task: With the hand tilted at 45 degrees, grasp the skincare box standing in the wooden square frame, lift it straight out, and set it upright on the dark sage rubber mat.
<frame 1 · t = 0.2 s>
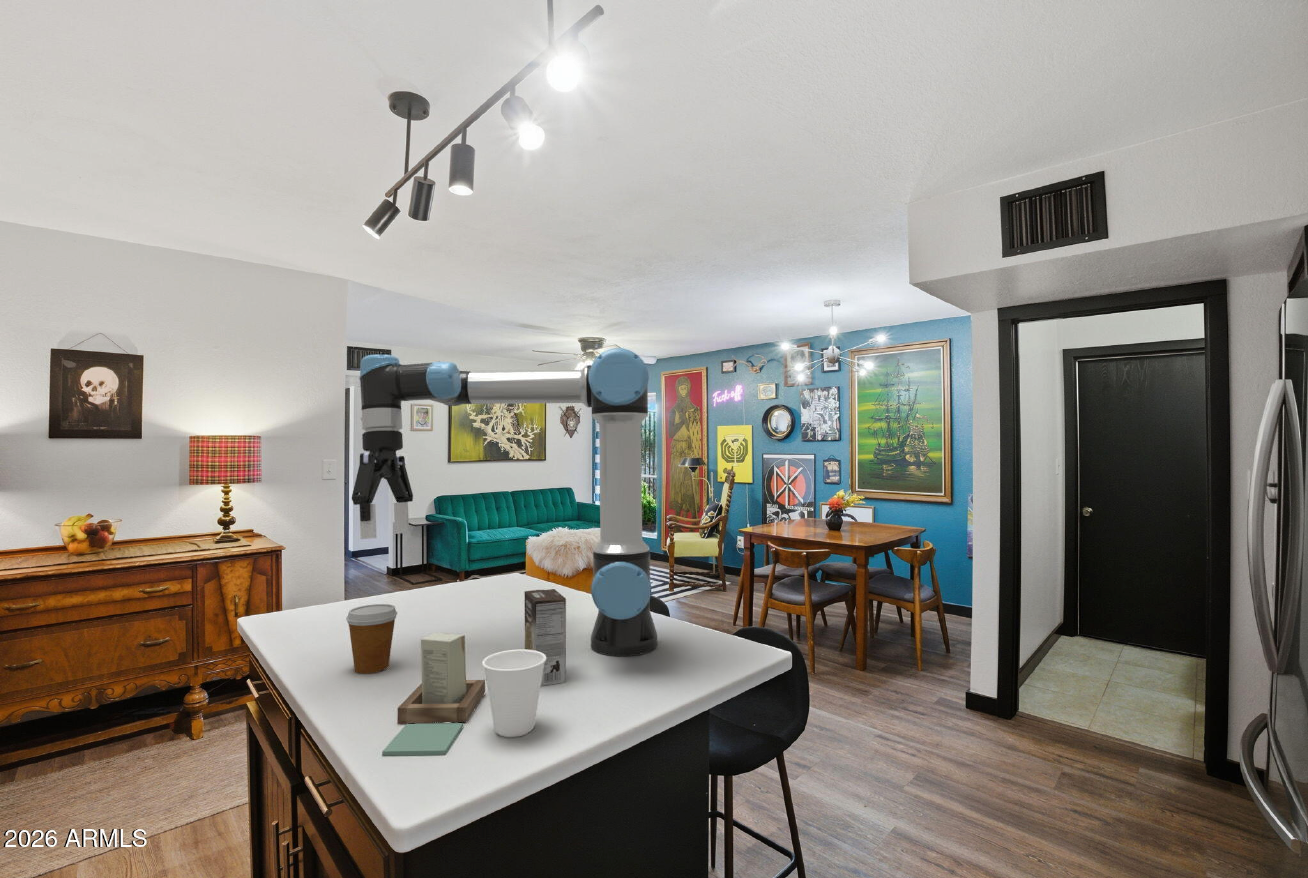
hand: (386, 535, 123), 27 cm above the kitchen island, tool pointing down, fingers open, 13 cm apart
coffee box: (544, 678, 119), on the kitchen island
cup: (514, 730, 96), on the kitchen island
rubber mat: (424, 740, 92), on the kitchen island
wooden square frame: (443, 707, 104), on the kitchen island
disposable coffee cup: (371, 669, 124), on the kitchen island
skincare box: (443, 709, 104), resting in wooden square frame
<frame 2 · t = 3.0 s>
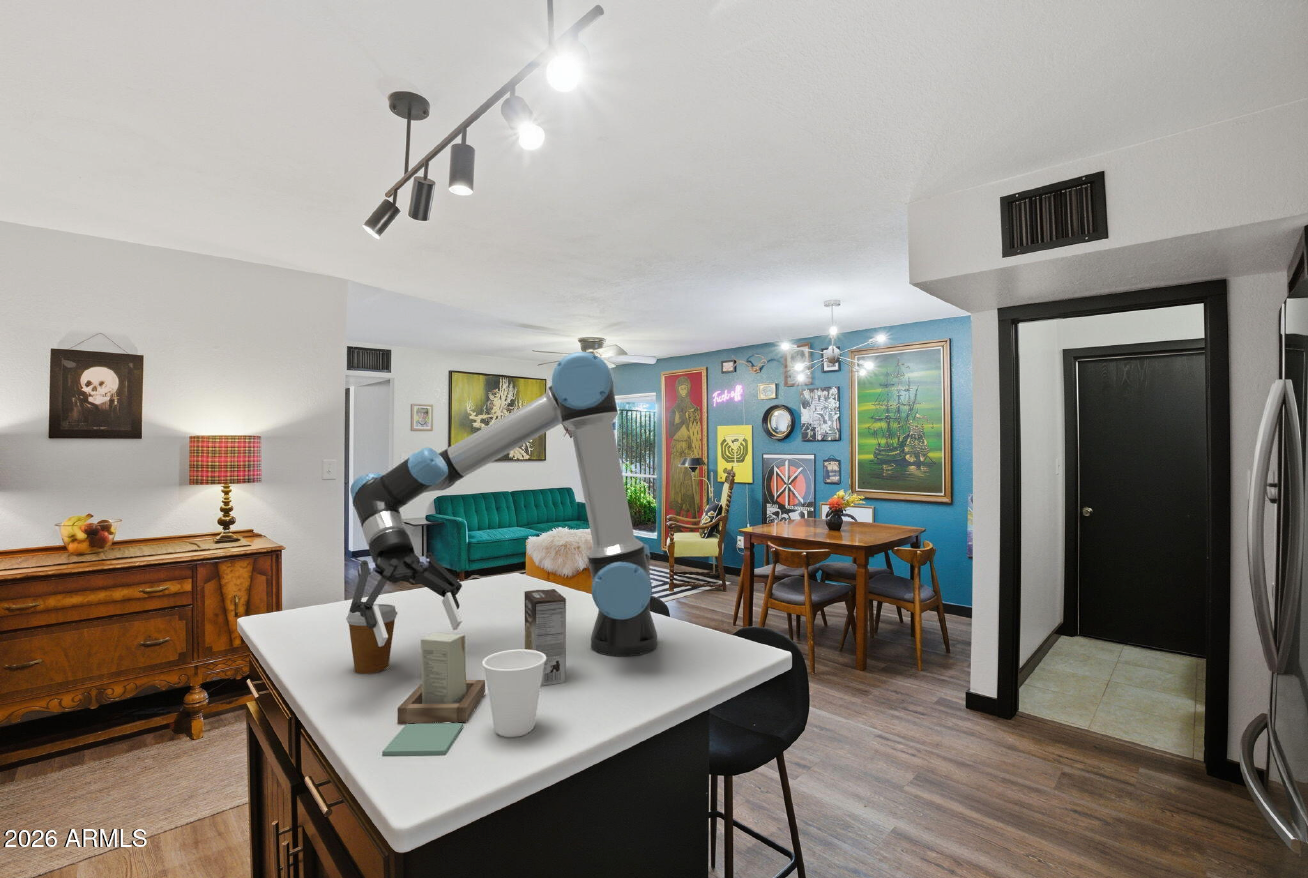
hand: (422, 633, 108), 11 cm above the kitchen island, tool tilted 45°, fingers open, 13 cm apart
nothing on the kitchen island moved.
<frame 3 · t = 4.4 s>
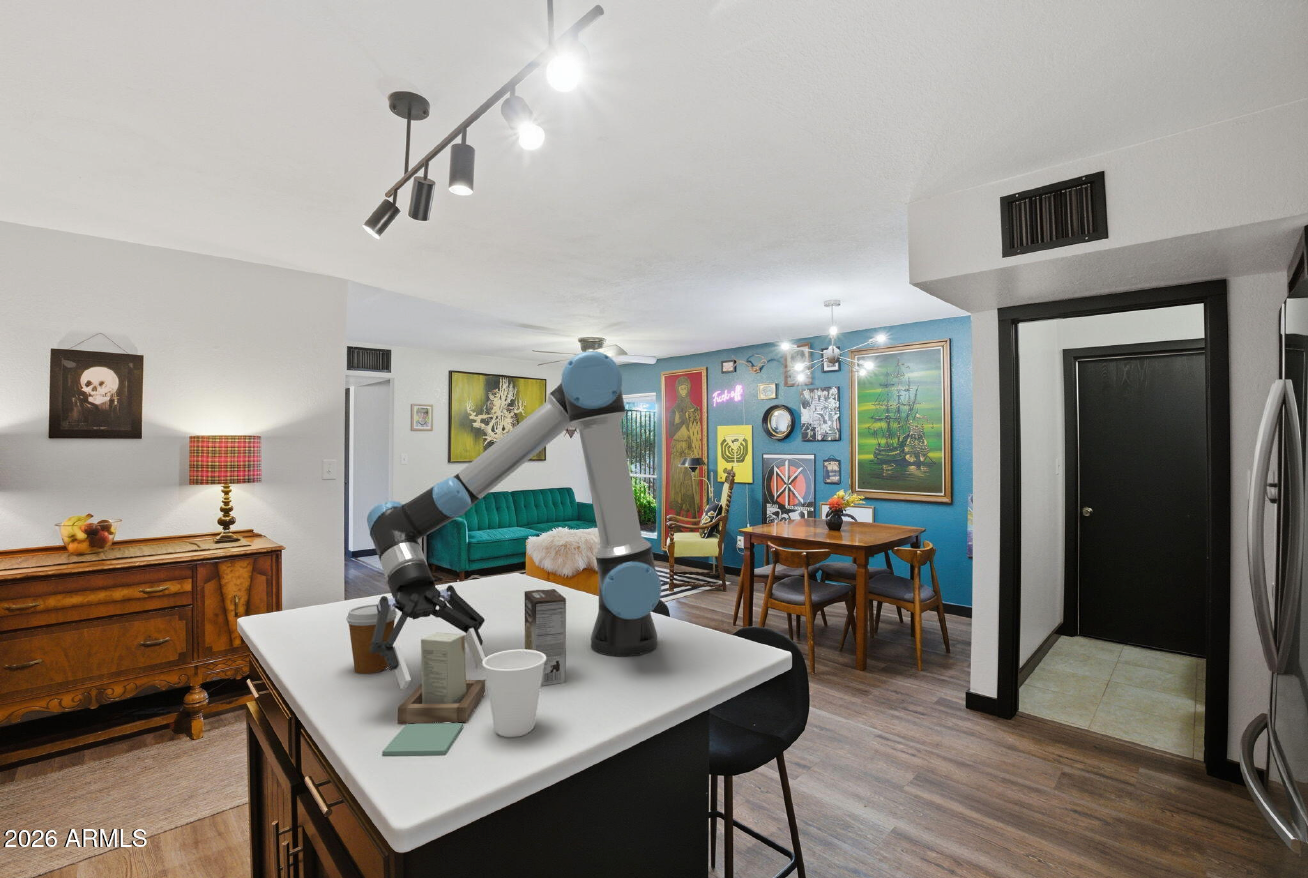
hand: (445, 673, 103), 6 cm above the kitchen island, tool tilted 45°, fingers open, 13 cm apart
nothing on the kitchen island moved.
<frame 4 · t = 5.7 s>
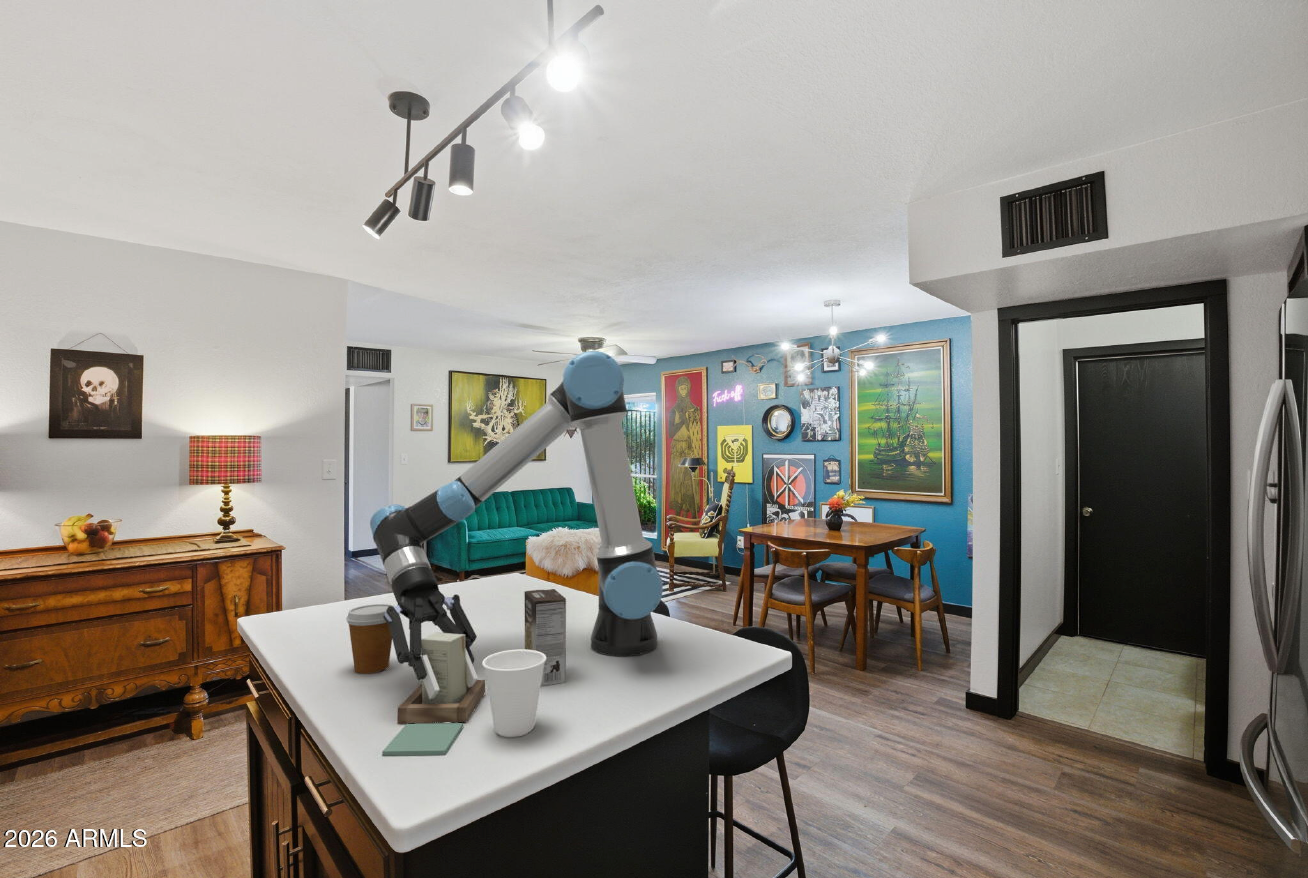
hand: (454, 688, 102), 4 cm above the kitchen island, tool tilted 45°, fingers closed on skincare box, 6 cm apart
skincare box: (443, 708, 104), resting in wooden square frame, touching gripper
everything else where it was.
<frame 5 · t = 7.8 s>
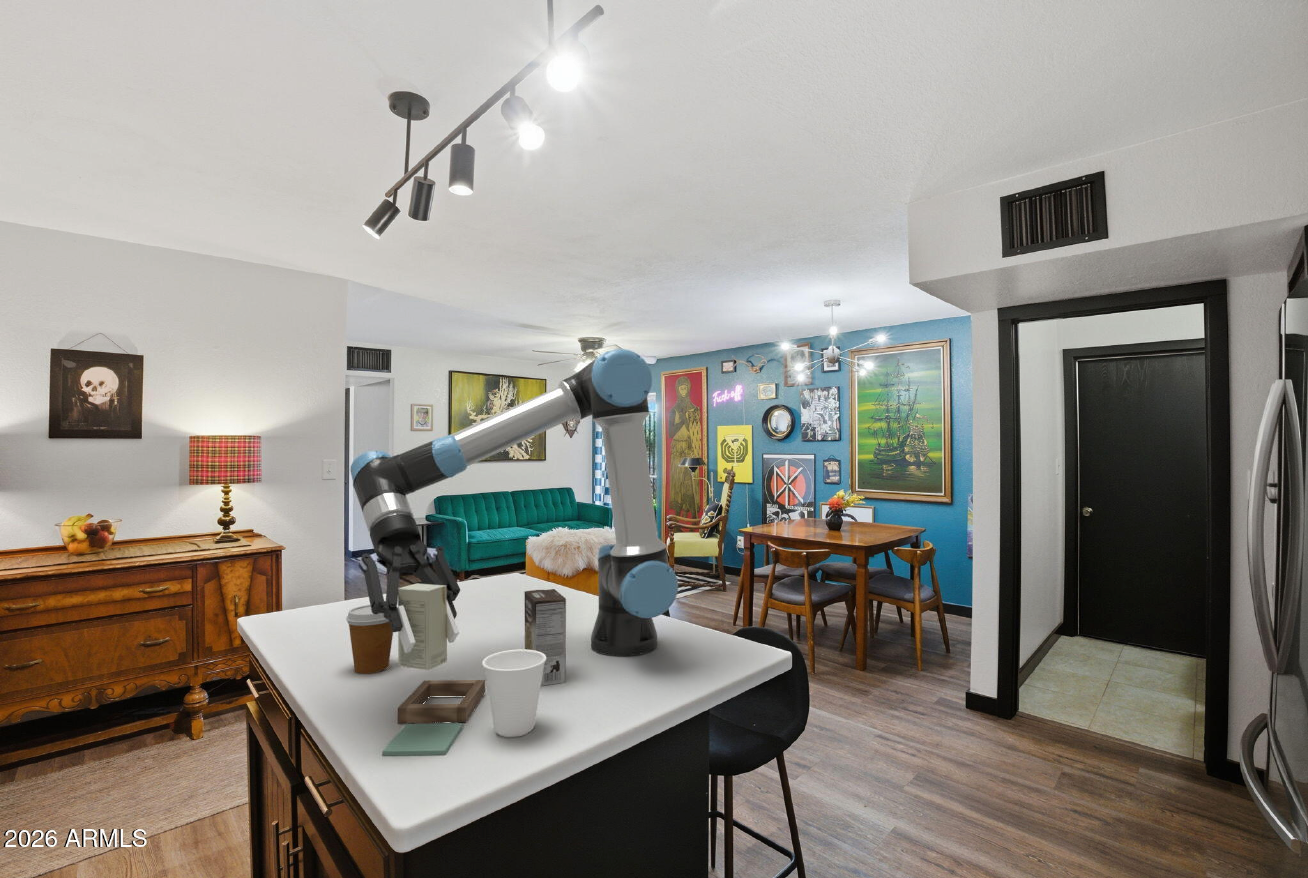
hand: (432, 642, 93), 15 cm above the kitchen island, tool tilted 45°, fingers closed on skincare box, 6 cm apart
skincare box: (422, 665, 95), point 10 cm above the kitchen island, touching gripper
everything else where it was.
when the fingers open (6 cm above the kitchen island, at t = 9.8 s): skincare box drops 1 cm, resting on rubber mat.
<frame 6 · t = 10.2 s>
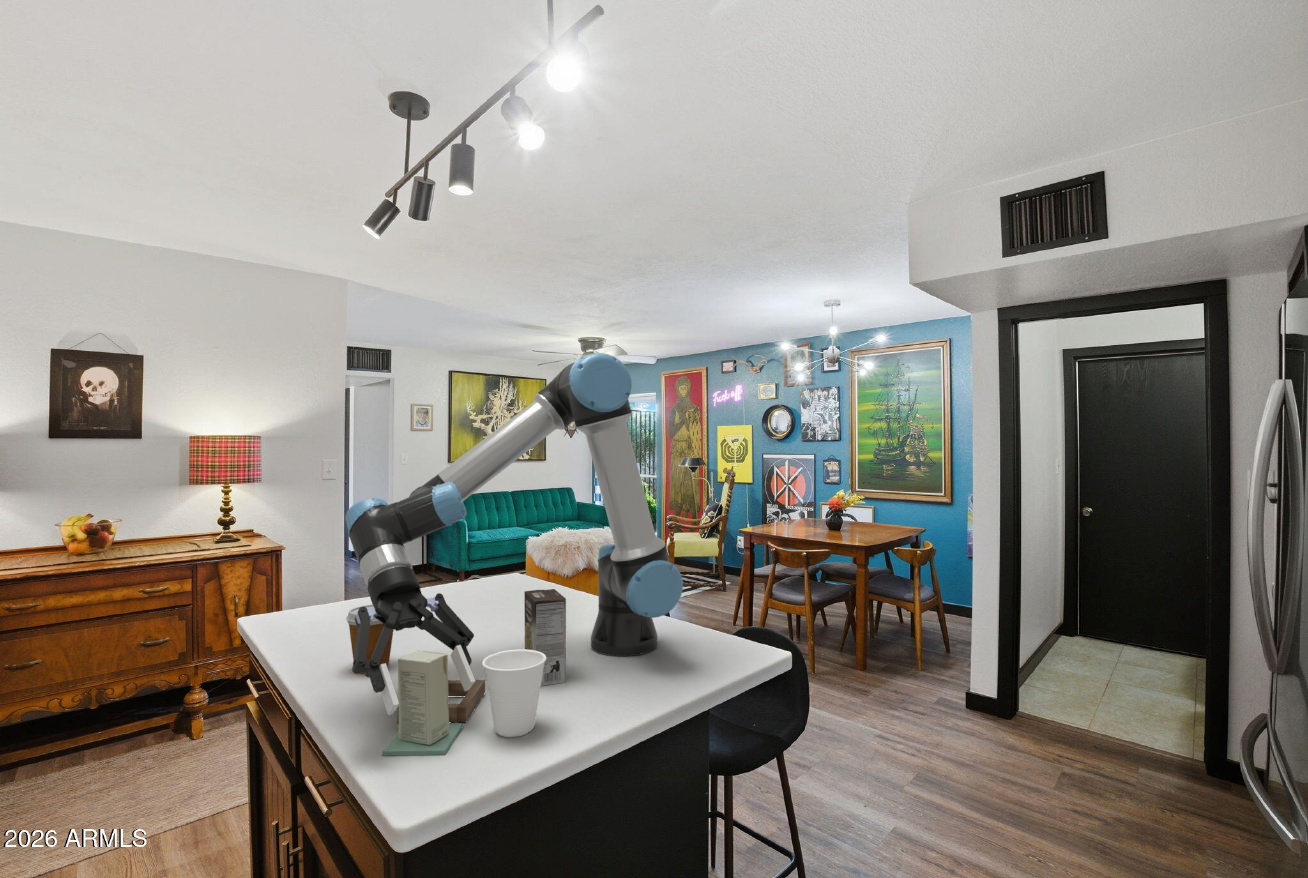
hand: (433, 697, 91), 7 cm above the kitchen island, tool tilted 45°, fingers open, 11 cm apart
skincare box: (423, 738, 92), resting on rubber mat
everything else where it was.
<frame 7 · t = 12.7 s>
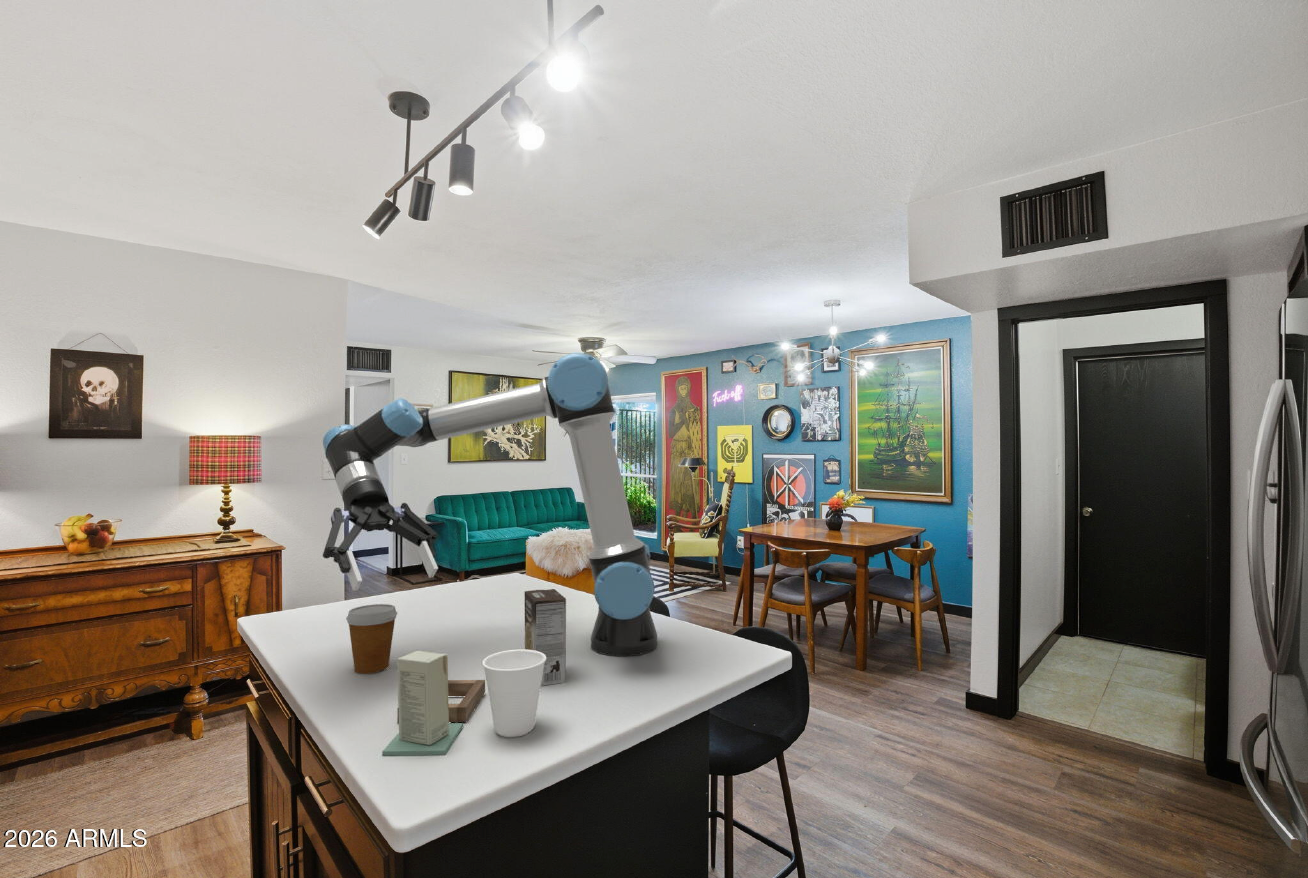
hand: (397, 579, 108), 21 cm above the kitchen island, tool tilted 45°, fingers open, 13 cm apart
nothing on the kitchen island moved.
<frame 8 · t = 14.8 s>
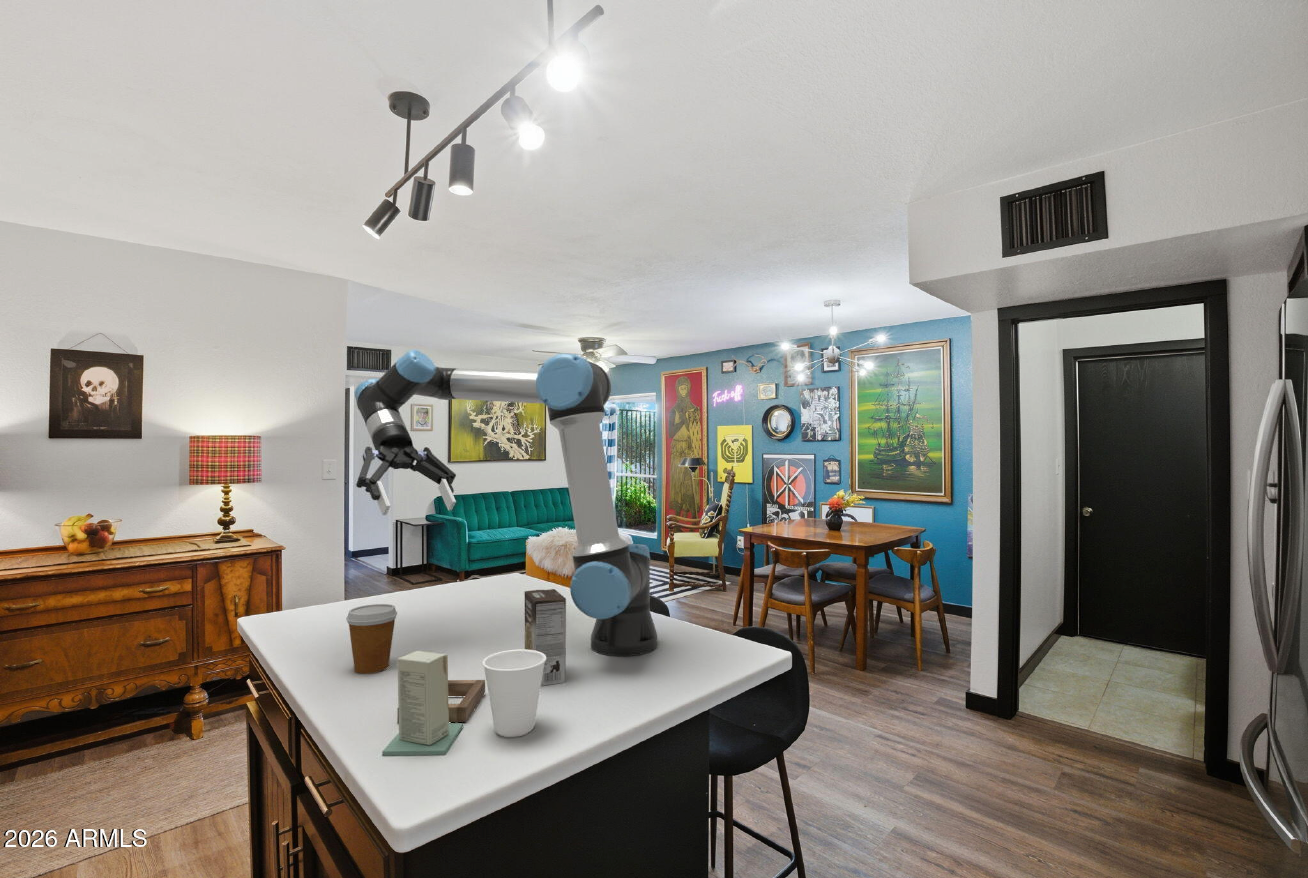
hand: (420, 508, 122), 33 cm above the kitchen island, tool tilted 45°, fingers open, 13 cm apart
nothing on the kitchen island moved.
at the end: skincare box 0.2 cm off-centre on the rubber mat, point 0.4 cm above the rubber mat's base; skincare box tilted 0°; the gripper is holding nothing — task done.
